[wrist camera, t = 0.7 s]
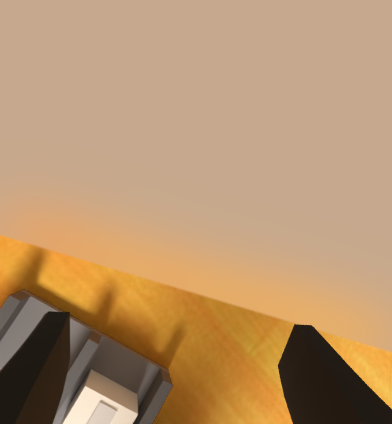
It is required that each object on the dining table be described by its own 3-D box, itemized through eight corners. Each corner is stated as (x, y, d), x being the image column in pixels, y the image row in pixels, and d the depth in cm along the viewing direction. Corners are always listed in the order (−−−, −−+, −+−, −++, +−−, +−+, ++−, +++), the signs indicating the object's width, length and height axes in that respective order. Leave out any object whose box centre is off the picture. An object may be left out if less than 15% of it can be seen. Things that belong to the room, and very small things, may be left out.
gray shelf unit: (113, 468, 33) (110, 498, 29) (-43, 388, 31) (-68, 408, 27) (168, 370, 34) (173, 385, 30) (24, 289, 33) (9, 295, 29)
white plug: (114, 434, 32) (111, 462, 28) (66, 409, 31) (56, 434, 27) (137, 394, 33) (137, 415, 29) (90, 369, 32) (85, 386, 28)
